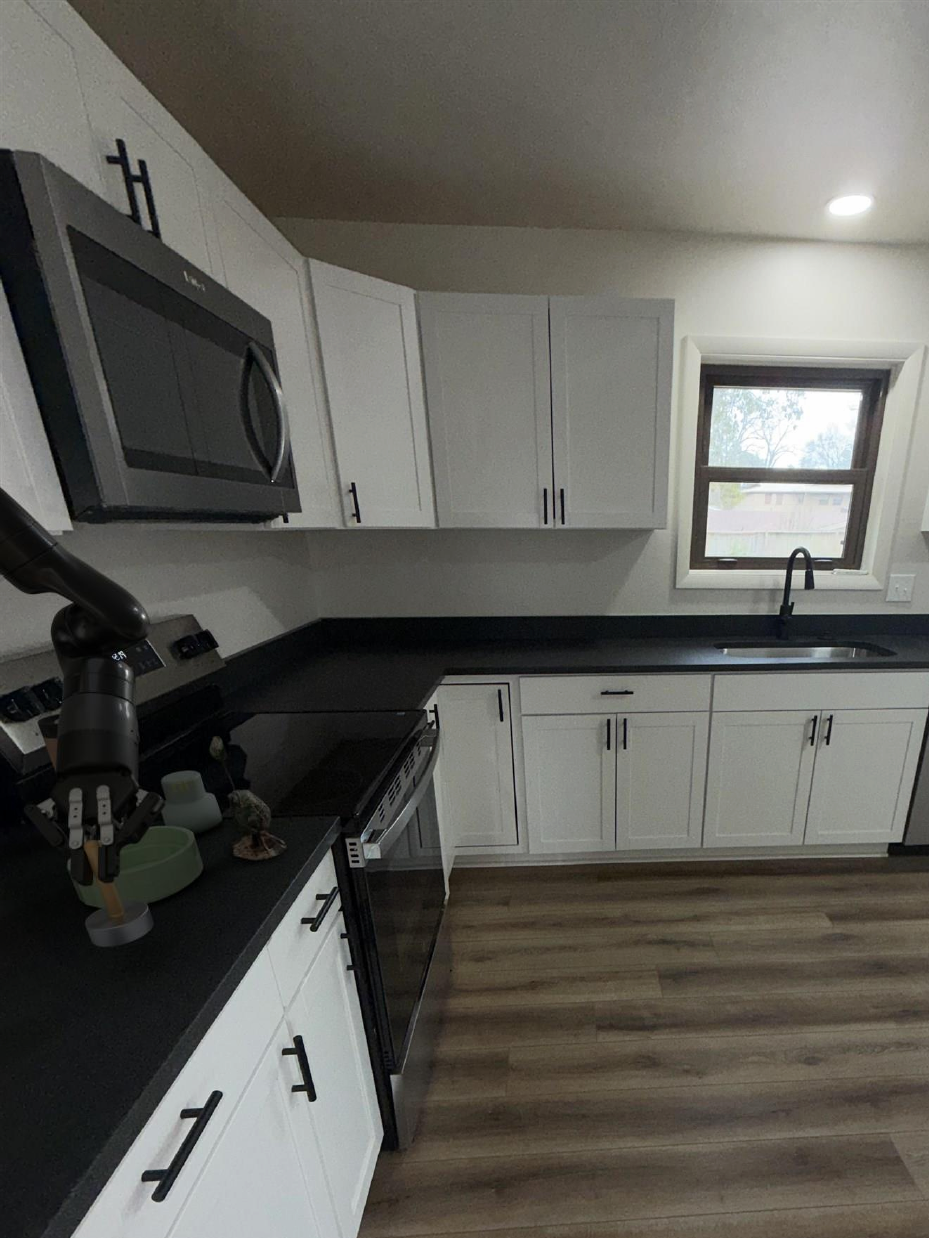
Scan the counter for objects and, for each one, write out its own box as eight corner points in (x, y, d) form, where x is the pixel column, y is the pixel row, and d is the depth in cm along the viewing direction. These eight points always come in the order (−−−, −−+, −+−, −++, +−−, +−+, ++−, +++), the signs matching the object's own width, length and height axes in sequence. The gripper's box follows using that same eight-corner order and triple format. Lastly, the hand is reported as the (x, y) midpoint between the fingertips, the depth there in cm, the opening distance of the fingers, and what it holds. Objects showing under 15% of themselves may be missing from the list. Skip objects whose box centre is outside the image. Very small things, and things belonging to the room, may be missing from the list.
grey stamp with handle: (83, 951, 72) (45, 857, 67) (102, 922, 77) (68, 832, 72) (145, 941, 74) (113, 848, 69) (159, 913, 79) (130, 825, 74)
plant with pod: (233, 874, 101) (199, 753, 93) (232, 844, 110) (201, 731, 102) (290, 861, 105) (262, 744, 96) (284, 833, 114) (258, 724, 105)
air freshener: (165, 823, 117) (149, 772, 113) (217, 812, 122) (203, 762, 118) (172, 846, 109) (154, 791, 105) (226, 833, 114) (212, 780, 110)
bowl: (63, 921, 89) (47, 884, 87) (103, 867, 103) (90, 834, 100) (191, 901, 94) (180, 865, 91) (213, 852, 107) (203, 820, 105)
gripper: (9, 732, 71) (-3, 884, 65) (153, 721, 75) (153, 863, 69) (46, 761, 77) (39, 901, 72) (176, 749, 81) (179, 881, 76)
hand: (95, 882), depth 71 cm, fingers closed on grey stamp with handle, 1 cm apart
